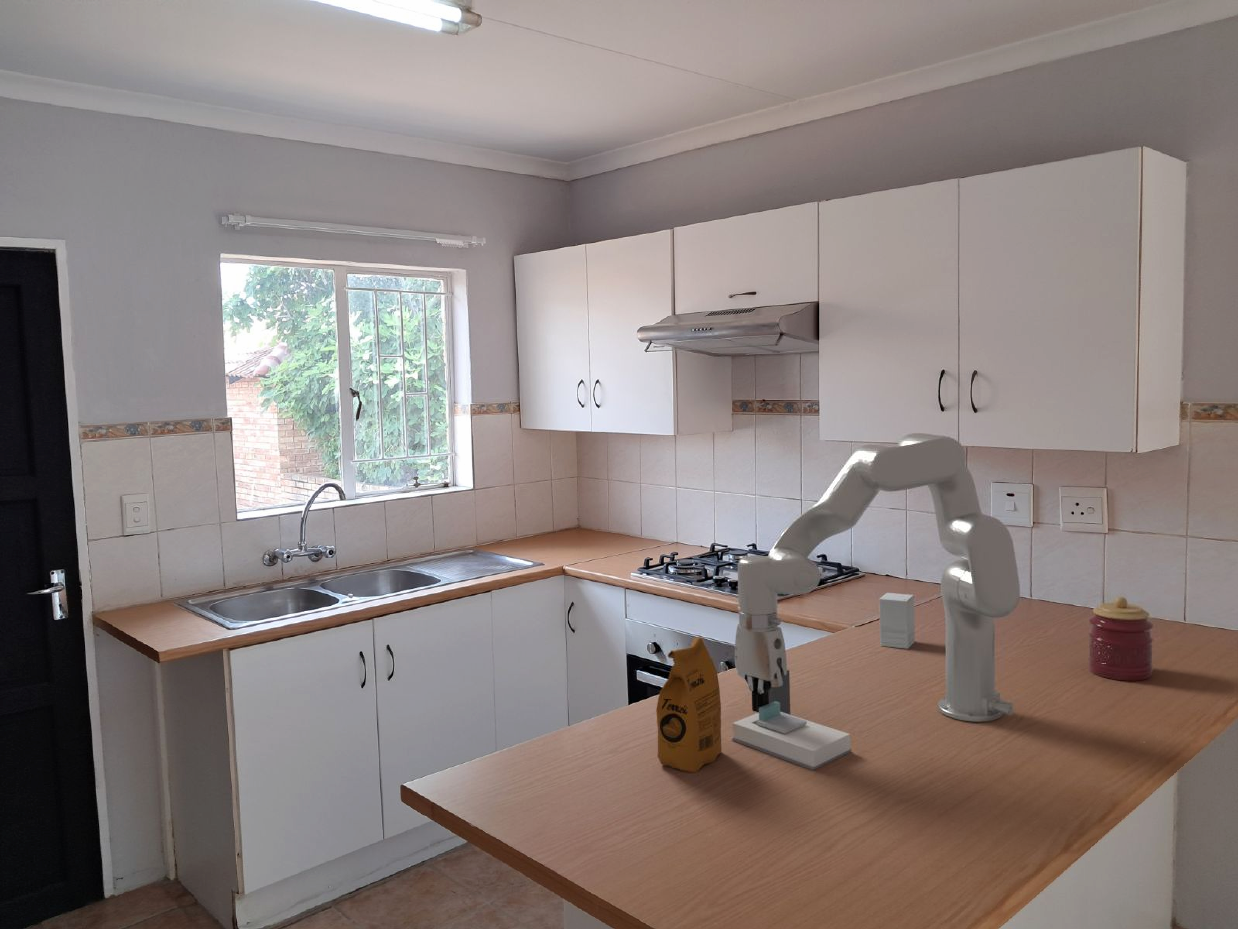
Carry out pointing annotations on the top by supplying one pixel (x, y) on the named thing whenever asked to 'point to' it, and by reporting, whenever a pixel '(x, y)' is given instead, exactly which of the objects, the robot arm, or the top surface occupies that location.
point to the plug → (782, 694)
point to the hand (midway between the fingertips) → (760, 710)
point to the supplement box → (897, 620)
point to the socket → (794, 742)
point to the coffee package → (689, 710)
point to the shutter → (778, 719)
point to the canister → (1120, 641)
